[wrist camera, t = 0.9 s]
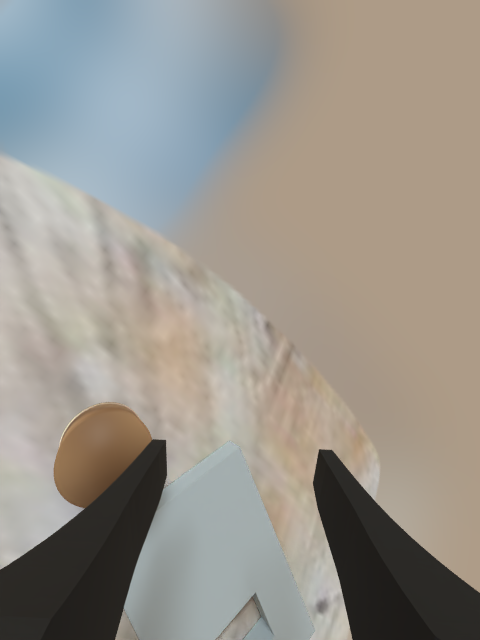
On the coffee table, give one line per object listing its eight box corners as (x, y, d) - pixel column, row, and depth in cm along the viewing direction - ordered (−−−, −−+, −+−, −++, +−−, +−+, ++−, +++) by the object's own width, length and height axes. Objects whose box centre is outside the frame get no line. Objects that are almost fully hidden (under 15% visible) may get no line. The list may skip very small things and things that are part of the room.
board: (200, 752, 21) (210, 788, 19) (97, 537, 19) (98, 555, 17) (300, 612, 27) (315, 630, 25) (229, 440, 25) (239, 446, 23)
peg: (79, 477, 19) (76, 531, 13) (50, 417, 19) (34, 446, 13) (145, 438, 21) (166, 469, 16) (121, 384, 21) (134, 395, 15)
